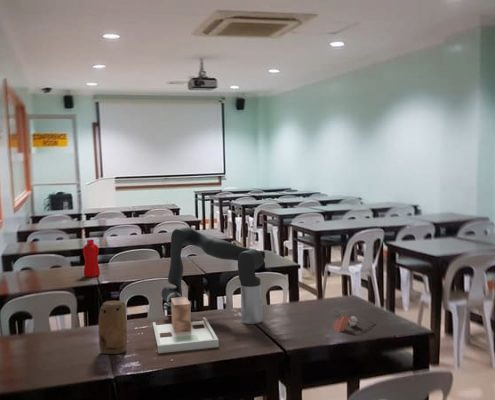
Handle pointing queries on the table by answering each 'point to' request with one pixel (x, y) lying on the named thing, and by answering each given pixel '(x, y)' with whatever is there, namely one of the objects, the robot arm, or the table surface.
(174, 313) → the terracotta block
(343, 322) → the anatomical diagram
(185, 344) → the box
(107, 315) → the block
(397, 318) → the table surface
